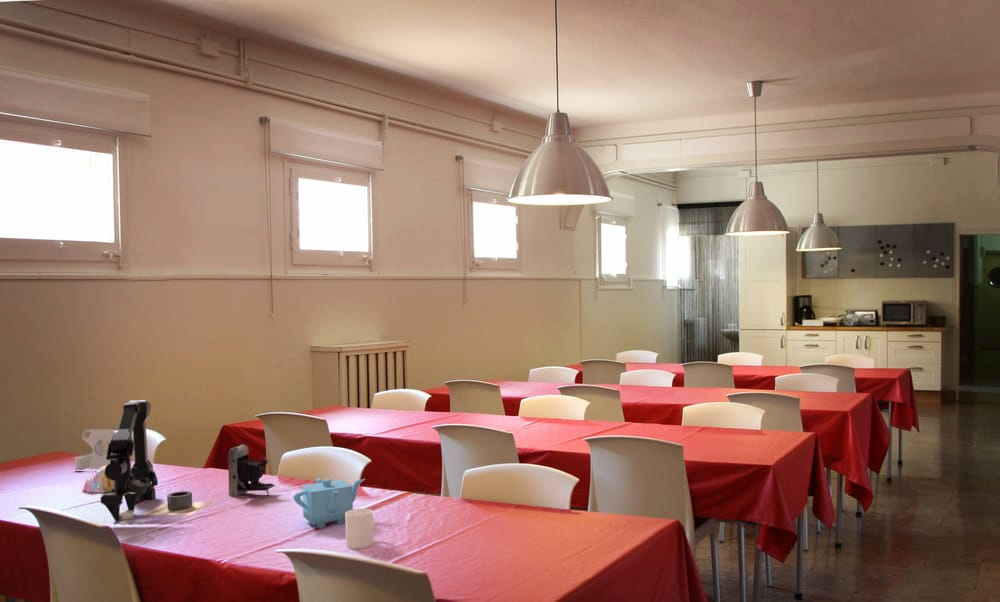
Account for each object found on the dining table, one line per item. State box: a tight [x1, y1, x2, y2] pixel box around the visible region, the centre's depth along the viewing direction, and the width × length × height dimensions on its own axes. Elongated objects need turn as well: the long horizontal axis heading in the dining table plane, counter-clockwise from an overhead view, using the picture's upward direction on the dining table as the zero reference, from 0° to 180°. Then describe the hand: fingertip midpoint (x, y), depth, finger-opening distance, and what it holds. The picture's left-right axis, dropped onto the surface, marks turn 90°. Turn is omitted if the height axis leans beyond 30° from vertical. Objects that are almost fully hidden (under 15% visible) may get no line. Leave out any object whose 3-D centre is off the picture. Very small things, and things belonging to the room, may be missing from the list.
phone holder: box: [74, 428, 116, 470], centre depth 389 cm, size 17×10×18 cm, turn 80°
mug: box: [344, 508, 375, 550], centre depth 260 cm, size 12×8×10 cm
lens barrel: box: [166, 490, 193, 511], centre depth 308 cm, size 8×8×5 cm
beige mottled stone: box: [119, 509, 135, 522], centre depth 297 cm, size 6×7×3 cm
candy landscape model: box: [81, 466, 114, 494], centre depth 353 cm, size 25×24×9 cm
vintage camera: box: [228, 443, 276, 497], centre depth 326 cm, size 10×16×20 cm, turn 78°
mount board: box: [143, 501, 213, 516], centre depth 307 cm, size 18×18×1 cm
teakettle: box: [293, 477, 366, 529], centre depth 285 cm, size 19×19×15 cm
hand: (124, 517), depth 297 cm, fingers open, 9 cm apart
